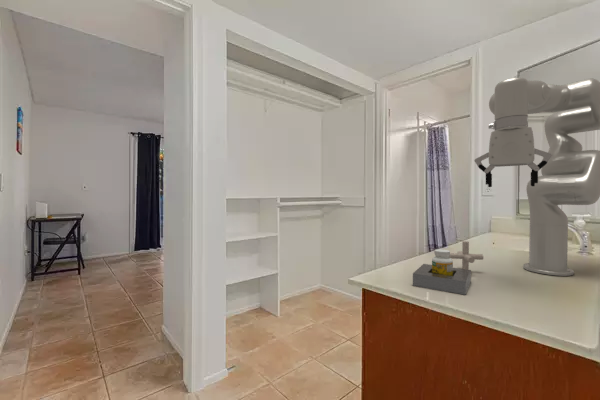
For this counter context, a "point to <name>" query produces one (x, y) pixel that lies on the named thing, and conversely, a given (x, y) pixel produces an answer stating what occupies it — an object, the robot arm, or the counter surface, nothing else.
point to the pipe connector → (466, 255)
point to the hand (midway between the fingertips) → (510, 186)
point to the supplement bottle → (442, 263)
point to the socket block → (442, 280)
